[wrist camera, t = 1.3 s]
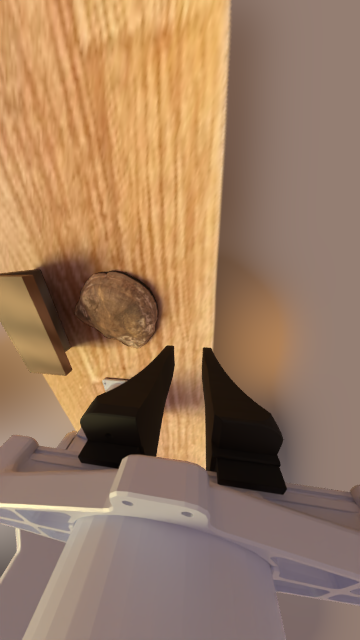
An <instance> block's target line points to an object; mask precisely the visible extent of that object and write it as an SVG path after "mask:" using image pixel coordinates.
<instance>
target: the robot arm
mask: <svg viewBox="0 0 360 640" xmlns="http://www.w3.org/2000/svg"><path fill="white" fill-rule="evenodd" d="M174 366H175V361H174V346H166V347H165V348H164V349H163V350H162V351H161V353H160V354H159V355H158V356H157V357H156V358H155V359H154V360H153V361H152V362H151V363H150V364H149V365H148V366H147V367H146V368H144V369H143V370H142V371H141V372H139V373H138V374H137V375H135V376H134V377H132V378H131V379H129V380H117V379H103V380H102V382H103V385H104V388H105V391H106V392H105V393H103V394H101V395H99V396H97V397H96V398H95V399H94V401H93V402H92V403H91V405H90V406H89V408H88V409H87V411H86V412H85V413H84V415H83V416H82V418H81V420H80V424H81V429H80V430H79V431H78V433H77V432H76V431H72V432H70V433H68V434H66V436H65V437H64V439H63V440H62V441H61V443H60V444H59V445H58V447H57V448H50V447H43V446H39V445H38V442H37V441H36V440H35V439H33V438H31V437H27V436H20V435H12V436H11V437H10V438H9V439H8V440H7V441H6V442H5V443H4V444H3V445H2V446H1V447H0V524H3V525H7V526H11V527H15V530H16V540H17V541H16V542H17V552H16V554H15V555H14V557H13V559H12V560H11V562H10V563H9V565H8V567H7V568H6V570H5V572H4V573H3V575H2V576H1V578H0V640H286V636H285V631H284V626H283V622H282V618H281V613H280V608H279V604H278V599H277V595H276V592H280V593H286V594H292V595H298V596H304V597H310V598H316V599H322V600H328V601H335V602H340V603H347V604H352V605H357V606H360V485H356V486H354V487H353V488H352V489H351V490H350V492H345V491H338V490H332V489H325V488H319V487H311V486H305V485H298V484H291V483H285V482H284V479H283V476H282V473H281V471H280V468H279V467H280V461H279V459H278V456H277V454H278V452H279V449H280V447H281V445H282V442H283V437H282V434H281V432H280V430H279V427H278V426H277V424H276V422H275V420H274V418H273V417H272V415H271V413H269V412H268V411H266V410H265V409H264V408H262V407H261V406H259V405H258V404H257V403H256V402H254V401H253V400H252V399H251V398H250V397H248V396H247V395H246V394H245V393H244V392H243V391H242V390H241V389H240V388H239V387H238V386H237V385H236V384H235V383H234V382H233V381H232V380H231V379H230V377H229V376H228V375H227V374H226V372H225V371H224V370H223V368H222V367H221V365H220V364H219V362H218V360H217V359H216V357H215V355H214V353H213V351H212V349H211V348H203V358H202V382H203V392H204V401H205V423H206V470H205V469H204V468H202V467H201V466H199V465H198V464H195V463H191V462H188V461H181V460H174V459H167V458H160V457H156V454H157V447H158V441H159V435H160V429H161V423H162V417H163V412H164V407H165V402H166V398H167V395H168V391H169V388H170V384H171V381H172V377H173V372H174ZM76 433H77V434H76Z"/></svg>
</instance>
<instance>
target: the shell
mask: <svg viewBox="0 0 360 640" xmlns="http://www.w3.org/2000/svg"><path fill="white" fill-rule="evenodd" d="M75 315H76V316H77V317H78V318H79V319H80V320H81V321H83V322H85V323H86V324H88V325H90V326H93V327H94V328H96V329H97V330H99V331H100V332H101V333H102V334H103V335H104V336H105V337H107V338H110V339H111V338H112V339H116V340H119V341H121V342H122V343H123V344H125V345H127V346H130V347H134V348H141V347H142V346H143V345H144V344H146V343H147V342H148V340H149V339H150V337H151V336H152V335H153V333H154V331H155V323H156V321H157V319H158V305H157V302H156V300H155V297H154V295H153V294H152V292H151V290H150V289H149V288H148V287H147V286H146V285H145V284H144V283H142V282H141V281H140V280H138V279H136V278H134V277H132V276H130V275H128V274H126V273H123V272H118V271H109V272H101V273H97V274H93V275H92V276H91V277H90V278H89V279H88V280H87V281H86V283H85V284H84V287H83V288H82V290H81V292H80V300H79V301H78V303H77V305H76V307H75Z"/></svg>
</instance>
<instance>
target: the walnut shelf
mask: <svg viewBox="0 0 360 640" xmlns="http://www.w3.org/2000/svg"><path fill="white" fill-rule="evenodd" d="M0 322H1V324H2V325H3V327H4V329H5V331H6V332H7V334H8V336H9V337H10V339H11V341H12V343H13V344H14V346H15V348H16V349H17V351H18V353H19V355H20V356H21V358H22V360H23V362H24V363H25V365H26V366H27V368H28V370H29V372H30V373H40V374H52V375H63V376H66V375H67V374H68V373H70V372H71V371H72V367H71V365H70V363H69V360H68V358H67V356H66V353H65V352H66V351H67V350H68V349H70V348H71V347H70V344H69V342H68V339H67V336H66V334H65V331H64V329H63V326H62V324H61V321H60V319H59V316H58V313H57V311H56V308H55V306H54V303H53V301H52V298H51V296H50V293H49V291H48V288H47V285H46V283H45V280H44V278H43V275H42V273H41V270H27V271H18V272H9V273H1V274H0Z"/></svg>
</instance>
